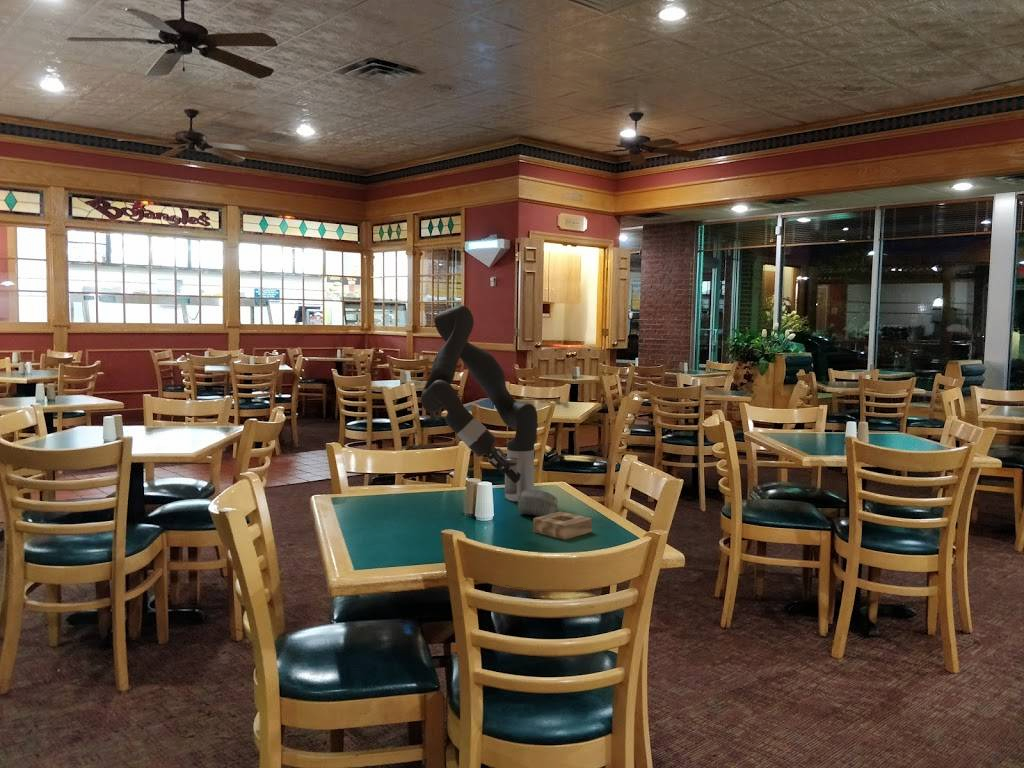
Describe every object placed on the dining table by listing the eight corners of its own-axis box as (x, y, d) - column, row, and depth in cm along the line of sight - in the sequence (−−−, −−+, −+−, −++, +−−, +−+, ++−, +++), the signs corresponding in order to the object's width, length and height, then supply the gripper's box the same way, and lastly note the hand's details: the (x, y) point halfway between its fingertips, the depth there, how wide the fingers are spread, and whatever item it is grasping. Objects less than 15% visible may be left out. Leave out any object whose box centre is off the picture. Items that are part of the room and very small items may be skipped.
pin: (500, 492, 238) (501, 458, 237) (510, 490, 241) (511, 456, 240) (511, 495, 235) (511, 460, 234) (521, 492, 238) (521, 458, 237)
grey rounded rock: (506, 504, 258) (522, 477, 259) (524, 513, 265) (539, 486, 266) (535, 523, 249) (551, 494, 250) (552, 531, 256) (568, 503, 256)
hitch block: (533, 531, 239) (533, 518, 238) (560, 524, 247) (560, 511, 247) (564, 539, 230) (564, 525, 230) (591, 531, 239) (591, 518, 239)
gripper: (470, 441, 245) (510, 483, 245) (464, 450, 230) (507, 493, 231) (488, 424, 244) (528, 465, 244) (483, 431, 230) (526, 475, 230)
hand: (518, 479), depth 237 cm, fingers closed on pin, 3 cm apart
